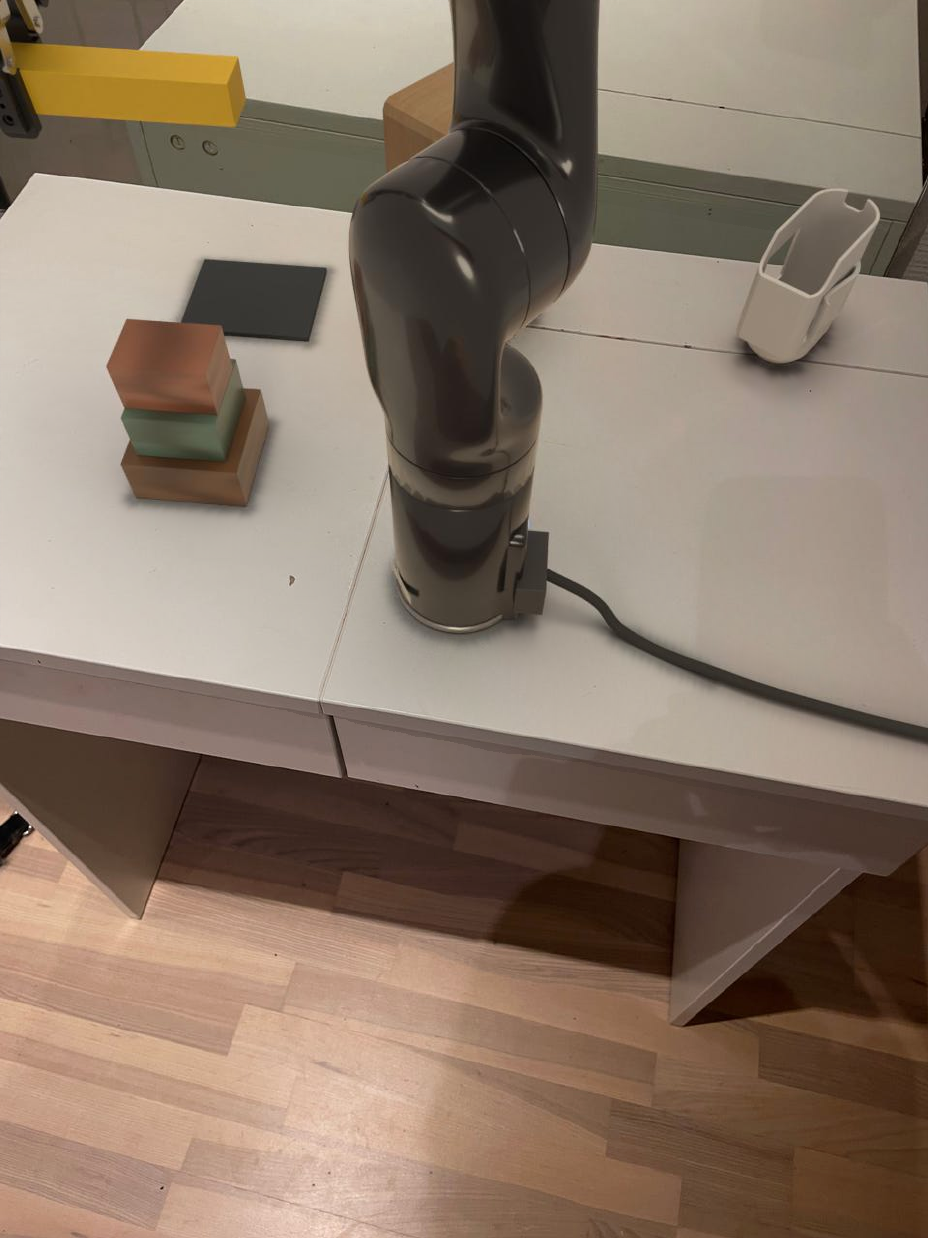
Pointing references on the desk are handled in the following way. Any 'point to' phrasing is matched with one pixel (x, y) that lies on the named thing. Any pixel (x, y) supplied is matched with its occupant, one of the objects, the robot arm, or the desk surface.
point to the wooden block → (417, 116)
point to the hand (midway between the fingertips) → (34, 116)
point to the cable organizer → (807, 276)
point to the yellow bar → (132, 84)
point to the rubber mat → (256, 298)
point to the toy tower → (186, 414)
